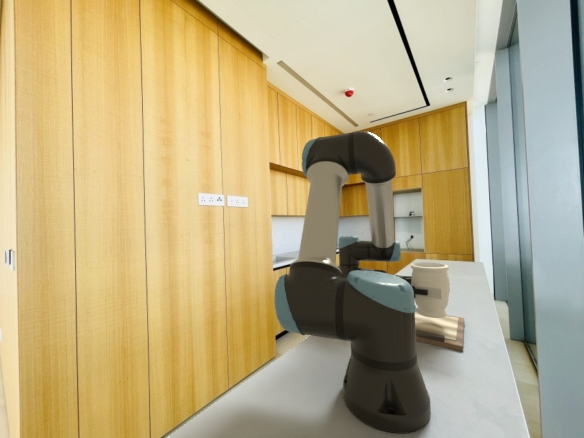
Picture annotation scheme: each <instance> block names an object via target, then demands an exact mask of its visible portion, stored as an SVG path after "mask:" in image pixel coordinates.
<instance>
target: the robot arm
mask: <svg viewBox="0 0 584 438" xmlns="http://www.w3.org/2000/svg"><path fill="white" fill-rule="evenodd" d="M392 153H393V152H391V149H390V148H389V147H388V145H387V144H386V143H385V142H384V141H383V140H382V139H381V138H380V137H379V136H377V135H376V134H374V133H372V132H370V131H365V130H357V131H352V132H347V133H340V134H334V135H328V136H327V135H326V136H320V137H316V138H313V139H309V140H308V141H307V142H306V143H305V145H304V147H303V148H302V154H301V160H302V161H301V168H302V172H303V174H304V175H303V176H305V178H306V179H307V180H308V182H309V183H310V185H309V191H308V197H307V203H306V209H305V214H304V220H303V226H302V227H303V228H302V232H301V239H300V246H299V251H298V257H297V259H296V260H294V261H293V262H291V263H290V265H289V266H290V267H289V271H288V274H286V273H285V274H283V275H280V276H279V277H278V279H277V281H276V283H275V287H274V310H275V314H276V318H277V321H278V323H279V325H280V327H281V328H282V329H284V330H285V331H287V332H290V333H295V334H299V335H301V336H306V335H307V336H311V337H312V336H313V337H320V338H327V339H334V340H341V341H347V342H350V357H349V360H348V363H347V367H346V370H345V374H344V378H343V380H342V390H343V391H342V395H343V401H344V403H345V405H346V407H347V408H348V410H349V411H350V412H351V413H352V414H353V415H354V417H356V418H357V419H359V420H360V421H361V422H363V423H365V424H366V425H368V426H370V427H373V428H376V429H378V430H380V431H385V432H388V433H398V434H401V433H403V434H404V433H411V432H414V431H415V432H416V431H418V430H420V429H422V428H424V427H425V426H426V425H427V424H428V423H429V421H430V418H431V414H432V412H431V398H430V393H429V391H428V389H427V387H426V384H425V380H424V379H423V378H424V377H423V374H422V372H421V370H420V367H419V365H418V364H419V363H418V349H417V348H418V347H417V346H418V345H417V341H416V327H415V312H416V309H417V305H416V303H415V300H414V298H416V295H418V296H424V297H431V298H437V299H442V289H438V288H431V287H423V286H416V288H415V286H412V285H411V277H412V275H399V274H395V275H394V274H391V273H388V272H387V271H386V270H383V269H373V268H365V267H360V262H381V263H382V262H386V263H392V262H395V263H396V262H400V261H401V258H402V254H401V242H400V241H399V240H395V223H394V221H395V220H394V218H395V217H394V193H393V191H394V190H393V180H394V179H395V178H396V176H397V175H396V174H397V170H396V169H397V168H396V166H397V165H396V161H395V158H394V155H393V154H392ZM358 174H360V178H361V181H362V183H365V190H366V191H365V192H366V201H367V208H368V209H367V210H368V219H369V220H368V221H369V227H370V229H369V230H370V236H371V237H370V238H371V240H360V239H359V236H357V235H342V236H340V237H339V238H338V236H339V225H340V214H341V213H340V212H341V203H342V202H341V200H342V199H341V198H342V189H343V187H344V185H346V184H347V182H348V181H349V180H348V179H349V176H352V175H358ZM337 249H338V250H337ZM337 251H338V258H339V259H338V262H339V264H336V261H337Z"/></svg>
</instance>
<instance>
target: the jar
mask: <svg viewBox="0 0 584 438" xmlns="http://www.w3.org/2000/svg"><path fill="white" fill-rule="evenodd" d="M410 268H411V269H412V271H411V276H412V277H411V285H412V286H415V288H416V286H423V287H431V288H438V289H442V299H437V298H431V297H424V296H418V295H416V298H414V302H415V306H416V312H417V313H418V314H420V315H422V316H426V317H430V318H443V317H446V316H447V315H448V313H447V311H446V309H447V307H448V304H449V297H450V292H451V290H450V289H451V287H450V285H451V284H450V278H449V275H448V270H449V268H450V267H449V265H448V264H445V263H439V262H438V263H436V262H414V263H410Z"/></svg>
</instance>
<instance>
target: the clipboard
mask: <svg viewBox="0 0 584 438" xmlns="http://www.w3.org/2000/svg"><path fill="white" fill-rule="evenodd" d="M415 327H416V342H421V343H425V344H430V345H435V346H437V347H442V348H443V347H444V348H448V349H451V350H456V351H460V352H463V351H464V336H465V318H464V317H459V316H453V315H448V314H447V316H446V317H443V318H430V317H426V316H422V315H420V314H418V313H417V312H415Z"/></svg>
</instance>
